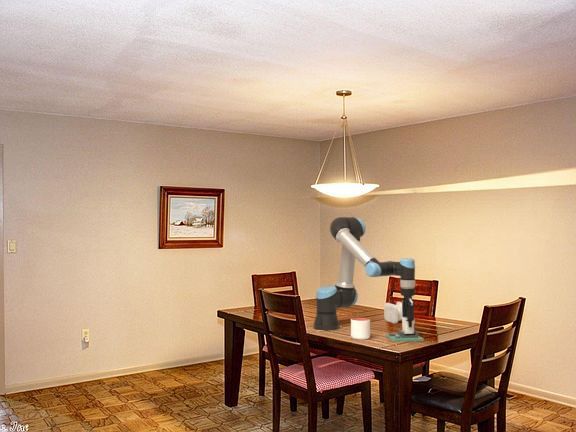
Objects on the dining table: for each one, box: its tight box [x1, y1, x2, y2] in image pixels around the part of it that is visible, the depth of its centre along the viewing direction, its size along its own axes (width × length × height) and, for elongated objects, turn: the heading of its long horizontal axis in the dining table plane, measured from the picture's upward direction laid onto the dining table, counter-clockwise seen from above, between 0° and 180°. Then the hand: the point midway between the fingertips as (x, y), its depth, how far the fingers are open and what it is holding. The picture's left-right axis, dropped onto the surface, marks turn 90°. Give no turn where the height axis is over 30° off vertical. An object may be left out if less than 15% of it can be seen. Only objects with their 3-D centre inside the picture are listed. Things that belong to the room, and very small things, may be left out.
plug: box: [401, 317, 416, 334], centre depth 293 cm, size 6×4×8 cm
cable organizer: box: [383, 301, 402, 325], centre depth 342 cm, size 15×11×12 cm
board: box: [385, 328, 425, 343], centre depth 293 cm, size 16×14×4 cm
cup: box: [350, 317, 371, 341], centre depth 294 cm, size 10×10×10 cm
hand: (408, 332), depth 293 cm, fingers closed on plug, 4 cm apart
